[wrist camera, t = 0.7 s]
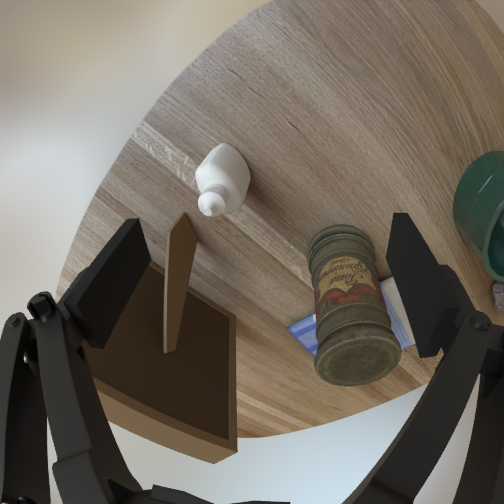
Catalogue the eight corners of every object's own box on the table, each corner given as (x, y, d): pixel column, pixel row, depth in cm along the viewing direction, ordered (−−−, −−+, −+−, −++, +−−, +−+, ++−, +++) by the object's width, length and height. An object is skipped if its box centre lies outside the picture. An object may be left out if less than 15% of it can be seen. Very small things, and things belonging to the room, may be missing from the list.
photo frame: (220, 327, 51) (189, 467, 31) (111, 255, 45) (29, 387, 25) (280, 280, 44) (268, 453, 24) (153, 187, 37) (38, 339, 17)
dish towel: (444, 321, 46) (449, 333, 44) (332, 369, 56) (333, 381, 54) (421, 256, 39) (427, 268, 37) (285, 321, 49) (285, 334, 47)
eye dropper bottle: (215, 187, 37) (188, 241, 27) (210, 142, 33) (176, 182, 24) (251, 185, 36) (237, 240, 26) (248, 140, 33) (230, 179, 23)
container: (379, 265, 41) (410, 373, 26) (321, 286, 44) (328, 396, 29) (360, 213, 37) (398, 321, 22) (295, 238, 40) (296, 353, 25)
